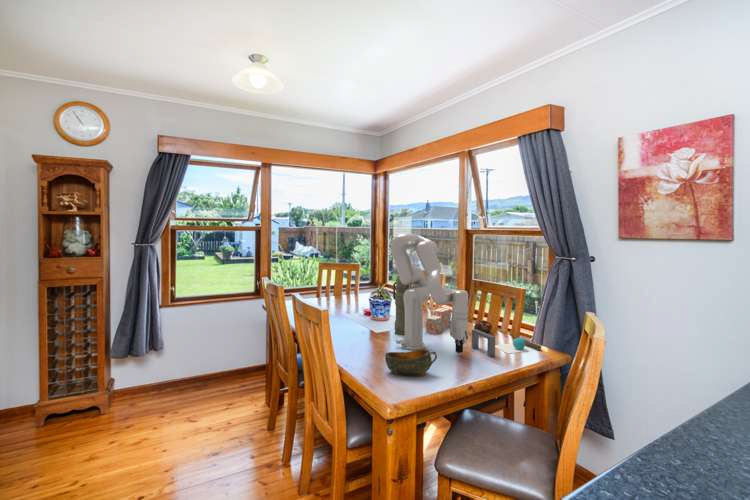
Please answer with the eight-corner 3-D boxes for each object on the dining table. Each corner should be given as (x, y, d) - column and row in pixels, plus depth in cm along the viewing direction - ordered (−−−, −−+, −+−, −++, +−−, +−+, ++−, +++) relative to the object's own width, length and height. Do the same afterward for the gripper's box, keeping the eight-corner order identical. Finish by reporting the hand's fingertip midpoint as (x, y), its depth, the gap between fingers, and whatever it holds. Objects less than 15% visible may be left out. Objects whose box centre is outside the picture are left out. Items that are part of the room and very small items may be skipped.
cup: (424, 384, 147) (425, 358, 147) (382, 373, 158) (382, 350, 158) (438, 374, 158) (438, 350, 158) (397, 365, 169) (397, 343, 169)
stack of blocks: (435, 335, 218) (435, 314, 217) (425, 333, 222) (426, 312, 221) (450, 327, 235) (451, 308, 235) (441, 326, 239) (442, 307, 238)
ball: (520, 352, 188) (517, 341, 187) (511, 349, 194) (509, 338, 193) (528, 348, 190) (526, 337, 189) (520, 345, 196) (518, 334, 195)
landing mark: (508, 353, 185) (508, 353, 185) (491, 346, 197) (491, 345, 197) (529, 351, 189) (529, 350, 189) (511, 343, 201) (511, 343, 201)
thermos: (409, 336, 214) (410, 276, 212) (390, 333, 219) (390, 275, 217) (413, 332, 222) (414, 274, 221) (395, 330, 227) (396, 273, 225)
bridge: (489, 357, 179) (490, 337, 179) (471, 347, 194) (471, 329, 193) (494, 356, 181) (495, 336, 180) (476, 347, 195) (476, 329, 194)
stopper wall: (538, 350, 189) (538, 346, 189) (515, 342, 204) (516, 337, 204) (541, 350, 190) (541, 345, 190) (518, 341, 205) (519, 337, 205)
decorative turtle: (469, 335, 218) (469, 321, 218) (480, 331, 229) (480, 318, 229) (485, 337, 211) (485, 323, 212) (496, 333, 223) (496, 320, 223)
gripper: (445, 312, 187) (444, 348, 188) (462, 319, 173) (461, 358, 174) (457, 311, 189) (457, 347, 190) (475, 318, 175) (474, 356, 176)
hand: (459, 352), depth 182 cm, fingers closed
